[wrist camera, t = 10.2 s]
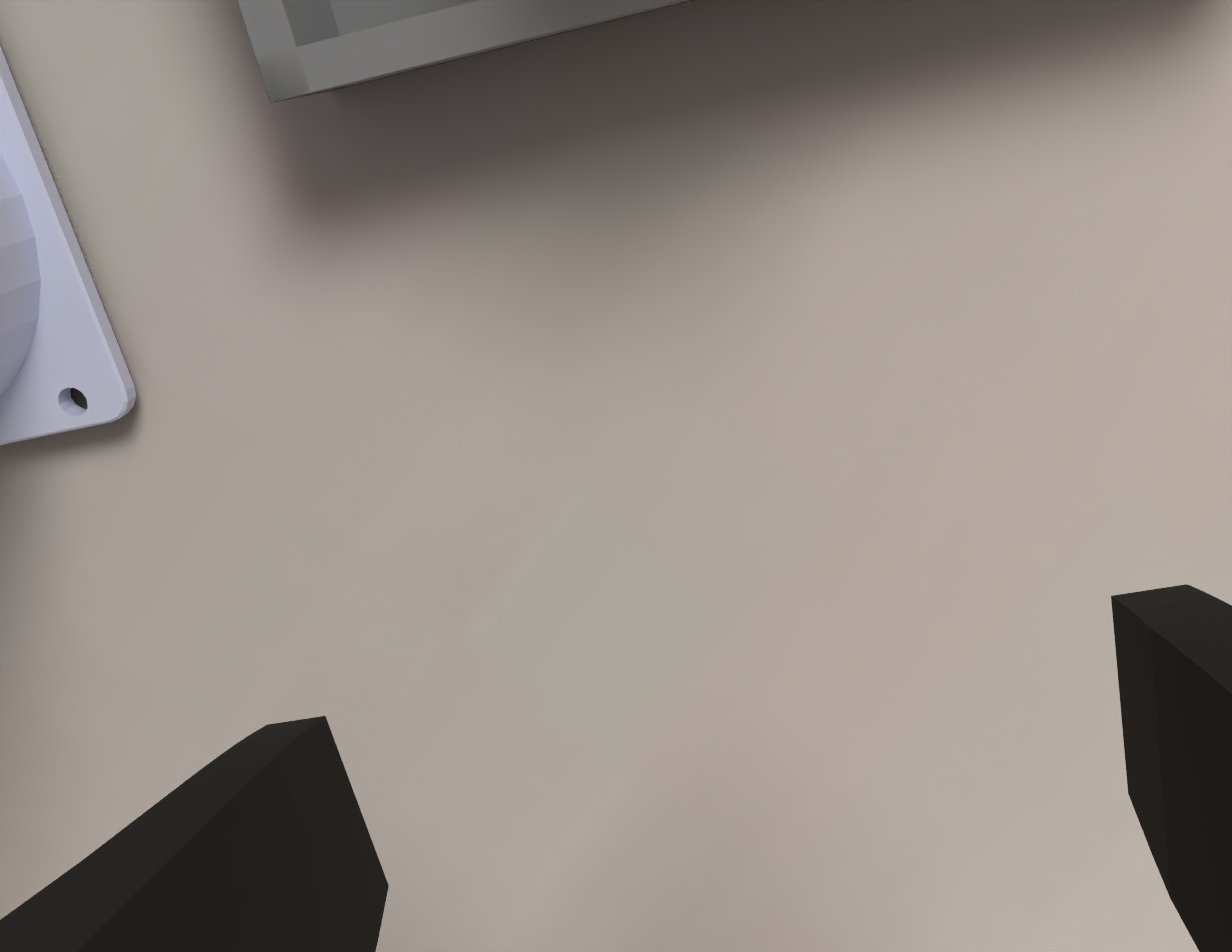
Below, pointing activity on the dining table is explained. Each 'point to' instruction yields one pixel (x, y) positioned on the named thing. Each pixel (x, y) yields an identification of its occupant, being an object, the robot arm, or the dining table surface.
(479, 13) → the parts bin
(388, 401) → the dining table surface
